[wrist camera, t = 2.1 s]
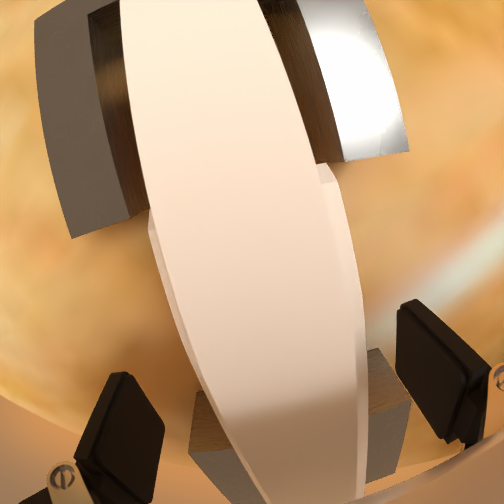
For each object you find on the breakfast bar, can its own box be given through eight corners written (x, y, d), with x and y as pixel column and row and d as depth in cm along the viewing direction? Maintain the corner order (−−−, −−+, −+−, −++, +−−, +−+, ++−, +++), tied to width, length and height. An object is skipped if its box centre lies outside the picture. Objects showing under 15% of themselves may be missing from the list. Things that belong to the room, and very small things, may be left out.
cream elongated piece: (272, 445, 20) (282, 577, 7) (179, 119, 17) (84, 0, 5) (339, 429, 20) (384, 553, 7) (262, 97, 17) (271, -54, 5)
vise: (305, -11, 10) (329, -63, 6) (375, 428, 20) (394, 472, 15) (85, 49, 11) (34, 20, 6) (237, 462, 20) (238, 509, 15)
